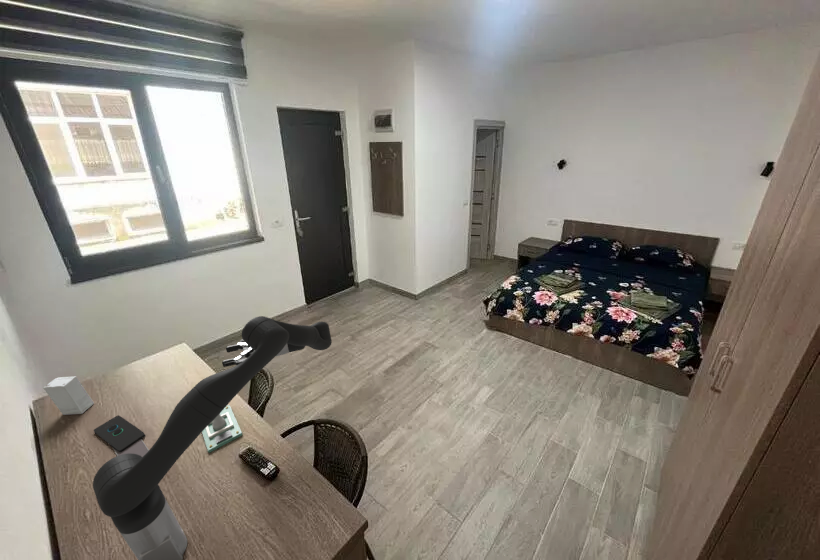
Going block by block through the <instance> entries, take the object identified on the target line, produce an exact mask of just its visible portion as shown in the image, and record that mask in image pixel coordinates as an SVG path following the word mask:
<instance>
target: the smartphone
mask: <svg viewBox="0 0 820 560" xmlns="http://www.w3.org/2000/svg"><path fill="white" fill-rule="evenodd" d="M112 449H113V452H114V453H115V454H116V456H119V455H122V454H128V453H133V454H138V455H140V456H142V457H143V456H144V455H145V454H146V453H147V452H148V451H149V450H150V449H149V448H148V446H147V445H146V444H145V442H144V441H143V439H140V440H139V441H137V442H136V443H134V444H133V445H131V446H130V447H128V448H127V449H125V450H124V451H122V452H118V451H117V450H116V449H114V448H112Z"/></svg>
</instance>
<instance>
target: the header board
mask: <svg viewBox="0 0 820 560" xmlns="http://www.w3.org/2000/svg"><path fill="white" fill-rule="evenodd" d="M220 416H221V417H222V418H224V419H225V421H226V424H225V426H224V427H223V428H222V429H219V430H214V429H213V426H212V424H213V421H212V422H211V423H210V424H209V425H208V426H207V427H206V428H205V429H204V430H203V431H202V432H201V433H202V436H203V439H204V444H205V447H206V449H207V453H208V454H210V453H212V452H214V451H216V450H217V449H220V448H221V447H223V446H225V445H227V444H229V443H230V442H232V441H234V440H237V438H239V437H242V436H243V432H242V430H241V428H240V425H239V423H238V421H237V417H235V414H234V412H233V409H232V407H231V405H230V404H228V405H227V406H226V407H225V408H224V409H223V410H222V411H221V413H220Z"/></svg>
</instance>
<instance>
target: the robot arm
mask: <svg viewBox="0 0 820 560" xmlns="http://www.w3.org/2000/svg"><path fill="white" fill-rule="evenodd" d="M241 338H242V339H240V340H239V342H237V344H232V345H231V344H230V345H227V346H226V347H225V350H226V352H227V353H232V352H233V353H234V352H236V351H242V352H241V353H239V355H238V356H237V357H235V358H234V357H232V358H228V359H224V360H222V362H221V363H222V364H221V365H222V367H224V368H226V367H230V366H232V367H230V368H227V369H224V370H222V371H218V372H217V373H214V374H211V375H209V376H207V377H204V378H202V380H199V381H198V382H197V384H195V385H194V386H193V387H192V388H191V389H190V390H189V391H188V392H187V393H186V394H185V395H184V396H183V397H182V398H181V399H180V401H179V402H178V403H177V404H176V405H175V407H174V408H173V410H172V412H171V413H170V415H169V416H168V419H167V421H166V423H165V425H164V428H163V429H162V431H161V433H160V435H159V436H158V438H157V440H156V441H155V442H154V443H153V445H152V446H151V447H150V449H149V451H148V452H147V453H146V454H145V455H144V456H143V457H142V456H140V455H138V454H133V453H128V454H122V455H119V456H117V455H116V456H114V457H113V458H111V459H108V460H107V462H106V461H105V463H103V464H102V466H101V467H100V468H99V469H98V470H97V471H96V473H95V474H94V477H93V481H92V489H93V491H94V496H95V499H96V501H97V504H98V507H99V508H100V509H99V510H101V512H102V513H103V515H105V516H107V517H110V519H111V520H112V522H113V523H112V524H113V525H114V526H115V528H116V529H117V530H118V532H119V533H120V535H121V536H122V538H123V539H124V541H125V543H126V544H127V546H128V548H129V549H130V550H131V552H132V553H133V554H134V556H135V558H136V559H137V560H184V557H183V556H184V553H185V552H186V549H187V547H188V539H187V536H186V533H185V532H184V530H183V528H182V526H181V525H180V523H179V521H178V519H177V517H176V516H175V514H174V512H173V510H172V508H171V506H170V504H169V503H168V500H167V499H166V496H165V495H164V493H163V491H162V489H161V487H160V485H159V484H160V482H161V481H162V480H163V478H164V477H165V476H166V475H167V473H168V472H169V471H170V470H171V468H172V467H173V466H175V465H174V464H176V462H177V461H178V460H179V458H180V457H181V456H182V455H183V454H184V453H185V451H186V450H187V449H188V448H189V447H190V446H191V445H192V444H193V442H195V441H196V440H197V438H198V437H200V435H201V433H202V431H203V430H204V429H205V428H206V427H207V426H208V425H209V424H210V423H211V422H212V421H213V420H214V419H215V418H216V417H217V416H218V415H219V414H220V413H221V411H222V410H223V409H224V408H225V407H226V406H227V405H230V403H231V401H232V400H233V399H234V398H235V397H236V396H237V395H238V393H240V392H241V391H242V389H243V388H244V387H246V385H248V383H249V382H250V381H251V380H252V379H253V378H254V377H256V375H257V374H259V372H260V371H261V370H263V369H264V368H265V367H266V366H267V365H268V364H269V363H270V362H272V360H273V359H275V358H276V357H279V356H282V355H286V354H289V353H293V352H297V351H302V350H304V349H305V348H306V347H309V348H311V349H314V350H315V351H316V350H317V351H324V350H328V349H329V348H330V347H331V346H332V336H331V331H330V326H329V323H327V322H326V321H322V320H321V321H318V322H315V323H313V324H311V325H306V324H305V325H302V324H294V323H288V322H285V321H284V322H283V321H279V320H276V319H273V318H271V317H267V316H262V315H260V316H255V317H253V318H251V319H250V320H248V322H247V323H246V324H245V325H244V327H243V328H242V330H241Z"/></svg>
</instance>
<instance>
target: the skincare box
mask: <svg viewBox="0 0 820 560" xmlns="http://www.w3.org/2000/svg"><path fill="white" fill-rule="evenodd" d="M43 390H44V392H45V393H46V394H47V396H49V398H50V400H51V401H52V402H53V404H54V405H55V406H56V407H57V409H58V410H59V411H60V413H61V414H62V416H65V415H66V416H67V415H82V414H83V413H85V412H86V411H87V410H88V409H89V408H91V407H92V406H93V405H94V404H95V402H94V400H93V399H92V398H91V396H90V395H89V393H88V392H87V391H86V389H85V387H84V386H83V385H82V383H81V381H80V380H79V378H78V376H76V375H75V376H62V377H61V376H59V377H56V378H54V379H52V380H51V381H50V382H49V383H47V384H46V385H45V386H43Z"/></svg>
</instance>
